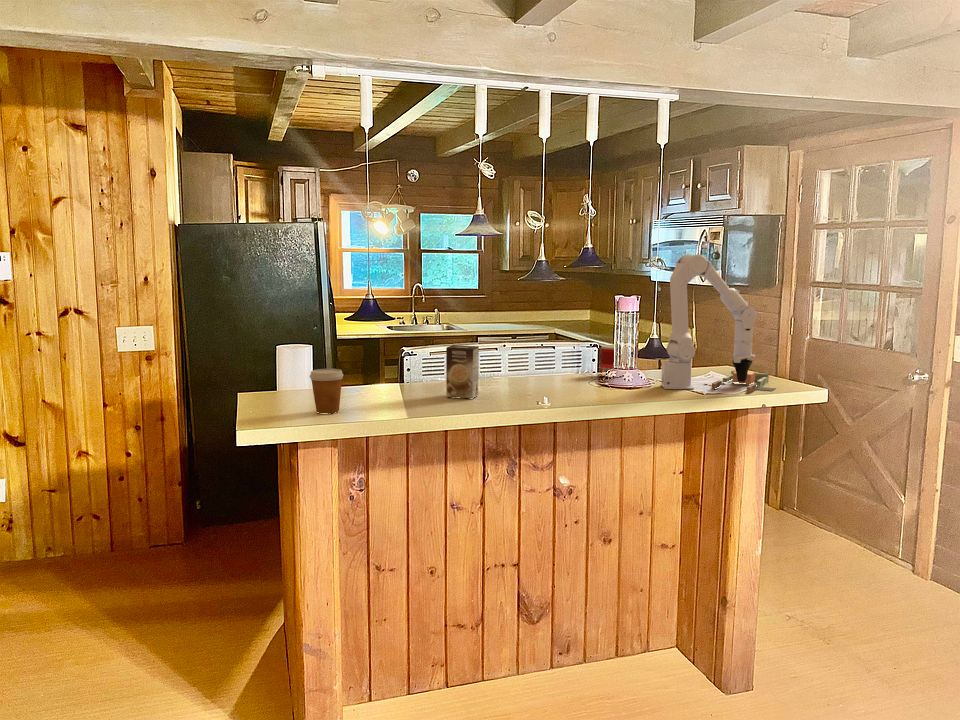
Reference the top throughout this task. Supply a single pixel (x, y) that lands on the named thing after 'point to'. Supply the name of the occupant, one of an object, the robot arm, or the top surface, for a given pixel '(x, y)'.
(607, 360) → the canned food
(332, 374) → the disposable coffee cup
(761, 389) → the trap pads
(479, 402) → the top surface
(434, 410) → the top surface
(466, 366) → the coffee box
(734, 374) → the block
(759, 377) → the trap lane
